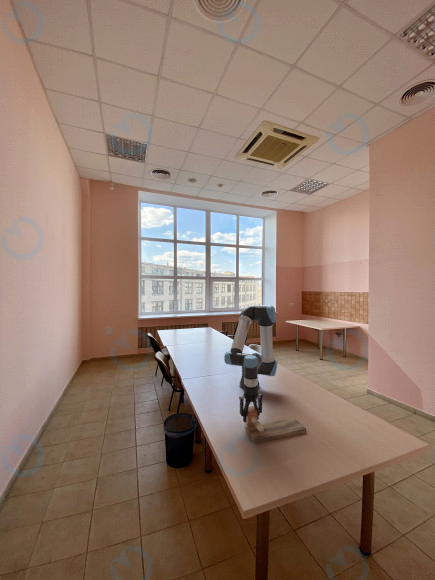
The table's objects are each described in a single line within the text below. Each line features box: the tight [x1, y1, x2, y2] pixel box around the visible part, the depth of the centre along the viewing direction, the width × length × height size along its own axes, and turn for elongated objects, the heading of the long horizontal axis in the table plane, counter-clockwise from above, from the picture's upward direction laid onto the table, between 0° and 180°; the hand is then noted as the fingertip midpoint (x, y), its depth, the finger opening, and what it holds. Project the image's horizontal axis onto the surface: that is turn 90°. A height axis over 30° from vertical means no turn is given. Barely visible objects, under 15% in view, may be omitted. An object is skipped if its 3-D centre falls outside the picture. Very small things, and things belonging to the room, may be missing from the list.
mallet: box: [247, 405, 264, 436], centre depth 123 cm, size 15×5×10 cm, turn 17°
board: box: [245, 417, 307, 444], centre depth 123 cm, size 10×30×2 cm, turn 107°
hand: (250, 426), depth 127 cm, fingers closed on mallet, 5 cm apart
